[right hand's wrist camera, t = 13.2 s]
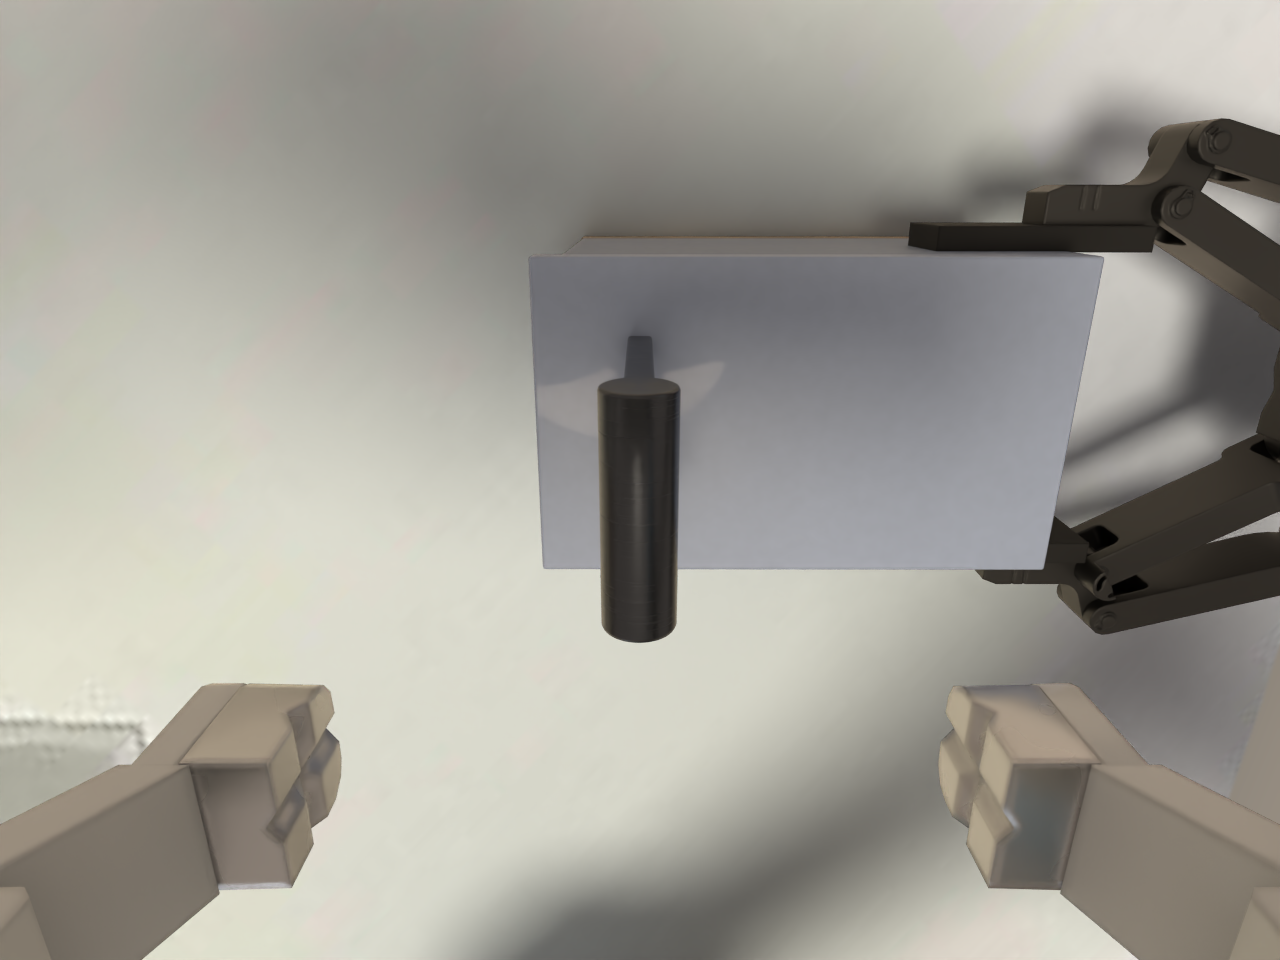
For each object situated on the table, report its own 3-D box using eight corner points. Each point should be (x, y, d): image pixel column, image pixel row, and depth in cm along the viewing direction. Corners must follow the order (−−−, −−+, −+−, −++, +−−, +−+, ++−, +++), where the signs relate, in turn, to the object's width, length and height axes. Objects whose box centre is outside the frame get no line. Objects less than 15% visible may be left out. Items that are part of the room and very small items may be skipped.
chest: (588, 466, 35) (571, 557, 26) (583, 236, 31) (561, 253, 23) (934, 466, 35) (1030, 557, 26) (965, 236, 31) (1088, 253, 23)
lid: (546, 557, 26) (502, 721, 18) (532, 254, 23) (471, 288, 15) (1031, 558, 26) (1205, 722, 18) (1088, 254, 23) (1333, 288, 15)
